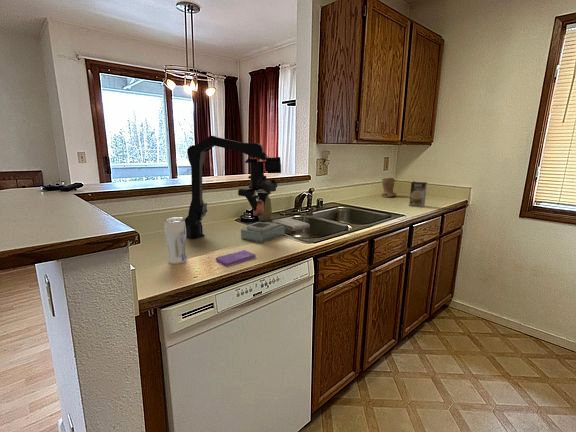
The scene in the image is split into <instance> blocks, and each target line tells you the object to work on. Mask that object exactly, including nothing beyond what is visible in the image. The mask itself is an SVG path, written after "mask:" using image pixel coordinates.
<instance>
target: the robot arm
mask: <svg viewBox="0 0 576 432" xmlns="http://www.w3.org/2000/svg"><path fill="white" fill-rule="evenodd" d="M214 147H217V148H218V147H219V148H223V149H227V150H231V151H232V150H233V151H236V152H241V153H243V154H244V155H247V156H248V158H247V159H246V160H244V163H245V164H249V169H250V170H249V173H250V174H249V176H248V175H247V177H248V179H250V185H249V186H248V187H241V188H239V189H238V190H237V196H238V197H245V198H246V200H247V201H248V203H249V205H250V206H251V208H252V211H253V210H254V211H256V199H257V197H259V199H261V200H263V201H264V205H265V201H266V198H267V196H268V195H269V196H270V195H271V194H272V192H277V188H278V181H277V180H276V179H275V178H274V179H271V180H269V179H268V178H267V176H266V175H265V172H267V174H282V163H281V156H276V157H275V156H274V157H268V155H267V154H266V153H265V149H264V146H263V145H262V144H261V143H259V142H258V143H256V142H240V141H236V140H231V139H227V138H222V137H217V136H215V135H209V136H208V137H206V138H205V139H203V140H202V141H200V142H198V143H196V144H193V145H189V147H188V148H187V150H186V155H187V159H188V161H189V164H190V169H191V170H190V171H191V173H190V174H191V201H190V205H189V209H188V215H187V216H186V217H185V218H184V219H185V225H186V238H188V239H192V240H194V239H198V238H201V237H205V234H204V233H203V232H204V231H203V223H202V220H203V218H204V217H205V216H206V213H207V212H208V209H207V208H208V203H207V202H204V200H203V199H204V198H203V165H204V162H205V159H206V153H208V152H209V151H210V150H211V149H213V148H214ZM251 157H252V158H251ZM259 159H260V160H259Z"/></svg>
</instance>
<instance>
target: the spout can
mask: <svg viewBox="0 0 576 432" xmlns="http://www.w3.org/2000/svg"><path fill="white" fill-rule="evenodd" d="M252 212H253V214H252V215H253V216H254V217H255V216H257V217H258V216H262V215H264V201H263V200H261V199H259V197H257V199H256V211H254V210H253V209H252Z"/></svg>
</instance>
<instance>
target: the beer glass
mask: <svg viewBox="0 0 576 432" xmlns="http://www.w3.org/2000/svg"><path fill="white" fill-rule="evenodd" d="M164 236H165V240H166V241H165V242H166V244H167V248H168V254H169V255H168V263H169V264H171V265H181V264H183V263H184V264H185V263H186V262H187V261H188V258H187V255H186V241H187V237H186V225H185V218H184V217H169V218H166V219H164Z"/></svg>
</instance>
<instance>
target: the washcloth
mask: <svg viewBox="0 0 576 432" xmlns="http://www.w3.org/2000/svg"><path fill="white" fill-rule="evenodd" d="M271 223H277V224H281V225H282V226H285V230H288V231H290V232H295V231H300V230H305V229H307V228H310V226H311V225H310V224H309V223H308V222H305V221H301V220H298V219H293V218H291V217H285V218H281V219H279V218H278V219H273V220H272V221H271Z"/></svg>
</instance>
